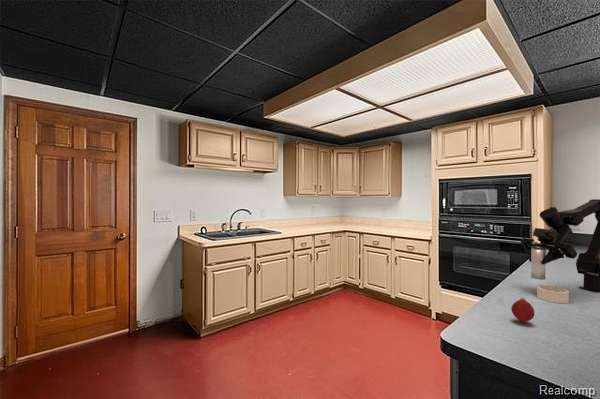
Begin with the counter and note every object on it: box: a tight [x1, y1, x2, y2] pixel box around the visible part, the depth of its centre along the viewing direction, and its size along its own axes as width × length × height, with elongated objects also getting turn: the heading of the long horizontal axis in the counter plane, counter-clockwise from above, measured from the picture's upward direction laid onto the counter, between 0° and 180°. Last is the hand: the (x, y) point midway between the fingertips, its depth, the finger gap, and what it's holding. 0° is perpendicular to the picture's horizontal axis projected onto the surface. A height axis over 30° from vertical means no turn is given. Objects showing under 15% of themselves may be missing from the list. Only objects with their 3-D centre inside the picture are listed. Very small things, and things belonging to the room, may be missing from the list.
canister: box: [530, 246, 547, 281], centre depth 120 cm, size 5×5×13 cm
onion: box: [510, 296, 535, 324], centre depth 92 cm, size 6×6×8 cm
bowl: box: [536, 284, 570, 304], centre depth 115 cm, size 9×9×4 cm
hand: (535, 262), depth 119 cm, fingers closed on canister, 5 cm apart
